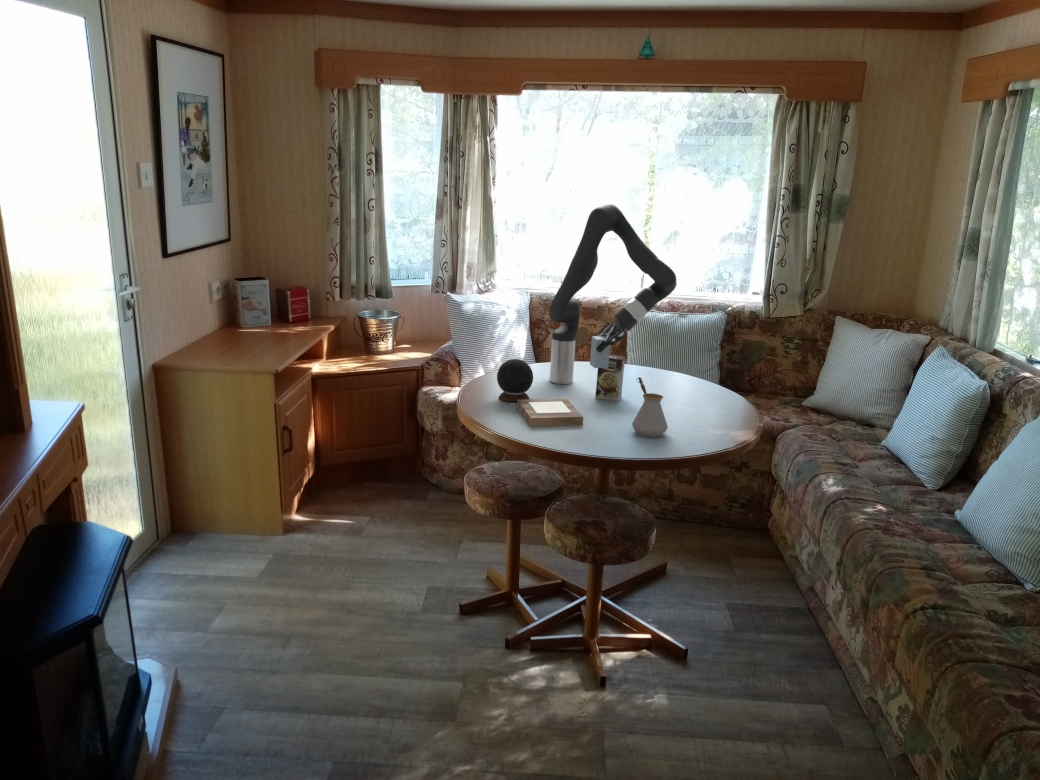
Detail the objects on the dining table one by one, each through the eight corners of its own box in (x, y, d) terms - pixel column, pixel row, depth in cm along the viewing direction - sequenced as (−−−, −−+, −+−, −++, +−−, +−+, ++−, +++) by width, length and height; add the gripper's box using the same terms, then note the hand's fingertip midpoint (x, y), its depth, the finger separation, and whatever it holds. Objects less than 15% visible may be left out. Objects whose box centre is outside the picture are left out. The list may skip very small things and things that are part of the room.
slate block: (589, 364, 271) (591, 336, 268) (603, 363, 272) (605, 336, 269) (594, 368, 266) (596, 339, 263) (608, 367, 267) (610, 339, 264)
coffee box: (594, 398, 288) (597, 356, 284) (598, 394, 294) (601, 352, 290) (618, 401, 286) (622, 359, 281) (621, 397, 292) (625, 355, 287)
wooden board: (517, 407, 274) (517, 398, 273) (566, 406, 278) (566, 397, 277) (530, 426, 255) (531, 417, 254) (582, 425, 259) (583, 415, 258)
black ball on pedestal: (495, 403, 277) (496, 363, 272) (496, 393, 289) (498, 354, 285) (531, 405, 277) (534, 365, 272) (532, 394, 289) (534, 356, 285)
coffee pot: (671, 439, 250) (676, 395, 245) (637, 439, 248) (641, 395, 243) (651, 417, 270) (655, 376, 265) (619, 418, 268) (622, 376, 264)
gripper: (617, 302, 271) (581, 336, 272) (632, 311, 258) (594, 346, 259) (629, 317, 274) (595, 351, 275) (645, 326, 261) (608, 361, 261)
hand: (595, 348), depth 267 cm, fingers closed on slate block, 5 cm apart
